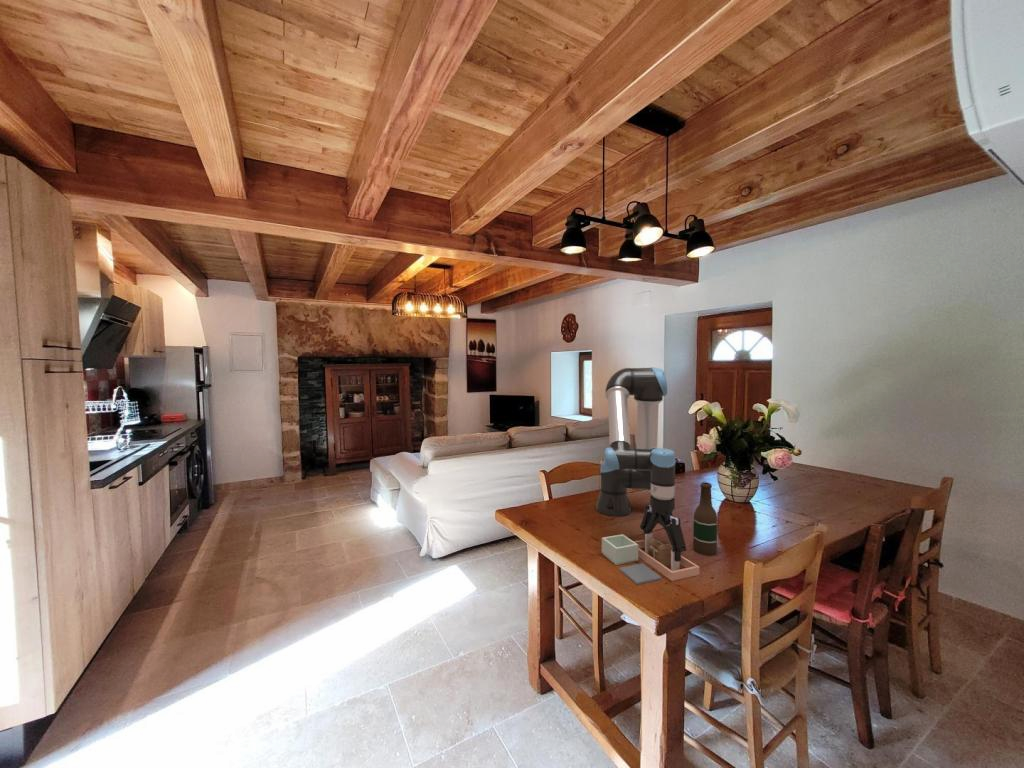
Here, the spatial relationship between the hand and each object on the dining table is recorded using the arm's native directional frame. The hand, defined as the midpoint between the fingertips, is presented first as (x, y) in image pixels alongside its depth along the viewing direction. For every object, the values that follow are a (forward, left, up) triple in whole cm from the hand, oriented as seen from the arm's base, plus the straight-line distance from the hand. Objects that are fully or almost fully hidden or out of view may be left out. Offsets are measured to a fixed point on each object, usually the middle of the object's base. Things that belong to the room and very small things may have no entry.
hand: (661, 560), depth 127 cm
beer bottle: (-1, +20, 0) cm, 20 cm away
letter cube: (0, 0, 0) cm, 0 cm away
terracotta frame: (0, 0, 0) cm, 0 cm away
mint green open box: (-7, -11, 0) cm, 13 cm away
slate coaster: (+4, -12, 0) cm, 13 cm away
